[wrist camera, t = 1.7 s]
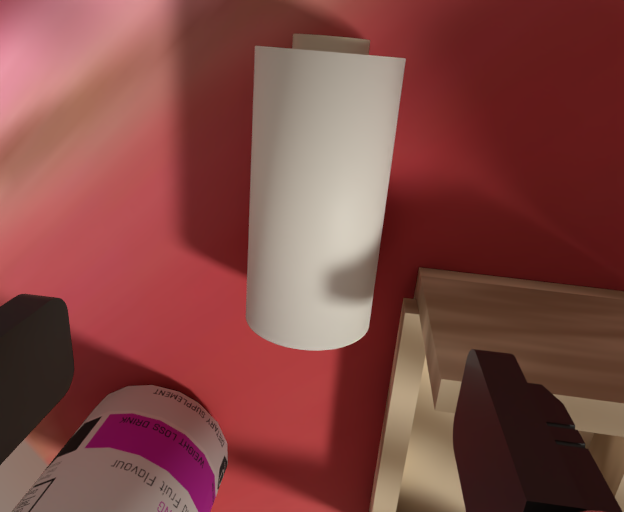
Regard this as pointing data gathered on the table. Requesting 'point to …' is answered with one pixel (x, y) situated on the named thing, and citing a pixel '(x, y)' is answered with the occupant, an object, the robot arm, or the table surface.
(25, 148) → the table surface
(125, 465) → the supplement can
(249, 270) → the paper roll
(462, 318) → the roll holder
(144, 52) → the table surface
